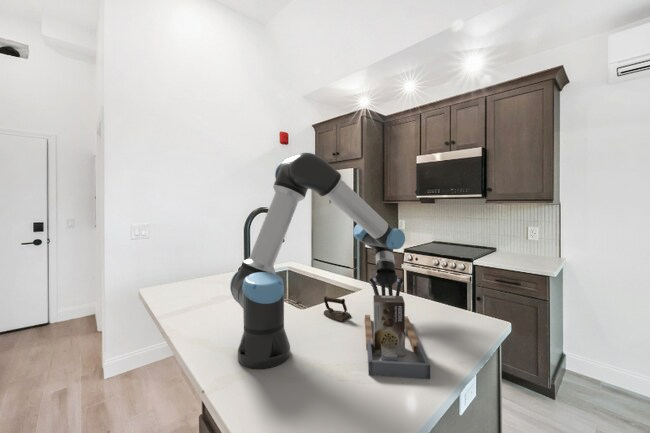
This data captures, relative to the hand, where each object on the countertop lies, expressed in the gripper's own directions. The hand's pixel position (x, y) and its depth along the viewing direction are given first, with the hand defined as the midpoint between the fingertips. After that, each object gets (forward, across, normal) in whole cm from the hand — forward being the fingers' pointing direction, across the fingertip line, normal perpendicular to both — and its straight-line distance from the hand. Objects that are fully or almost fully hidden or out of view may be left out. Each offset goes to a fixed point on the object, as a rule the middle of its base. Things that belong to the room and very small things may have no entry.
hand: (388, 322), depth 104 cm
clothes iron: (-6, +20, -11) cm, 23 cm away
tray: (+17, 0, +12) cm, 21 cm away
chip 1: (+16, +2, +11) cm, 19 cm away
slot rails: (+4, 0, -1) cm, 4 cm away
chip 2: (+18, +2, +14) cm, 23 cm away
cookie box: (+12, +1, +7) cm, 14 cm away
